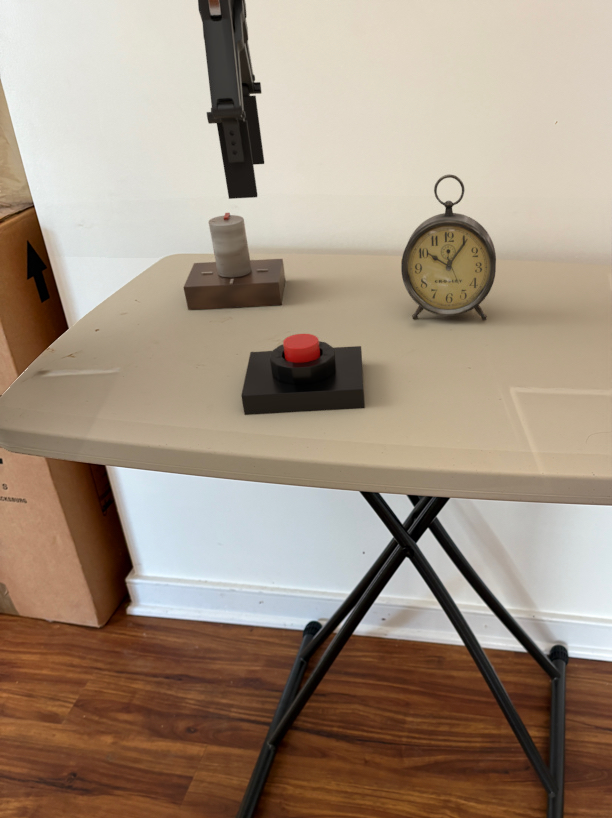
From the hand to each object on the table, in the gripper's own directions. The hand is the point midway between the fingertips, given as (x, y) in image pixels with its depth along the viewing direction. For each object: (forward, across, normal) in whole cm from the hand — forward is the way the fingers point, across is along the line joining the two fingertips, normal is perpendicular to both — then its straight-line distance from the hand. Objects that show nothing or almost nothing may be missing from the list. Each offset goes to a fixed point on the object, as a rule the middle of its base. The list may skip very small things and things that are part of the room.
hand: (248, 179), depth 79 cm
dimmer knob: (+14, -15, -5) cm, 22 cm away
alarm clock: (+18, -3, +22) cm, 28 cm away
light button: (+14, +13, +4) cm, 20 cm away
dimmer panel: (+18, -15, -5) cm, 24 cm away
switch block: (+18, +13, +4) cm, 22 cm away
